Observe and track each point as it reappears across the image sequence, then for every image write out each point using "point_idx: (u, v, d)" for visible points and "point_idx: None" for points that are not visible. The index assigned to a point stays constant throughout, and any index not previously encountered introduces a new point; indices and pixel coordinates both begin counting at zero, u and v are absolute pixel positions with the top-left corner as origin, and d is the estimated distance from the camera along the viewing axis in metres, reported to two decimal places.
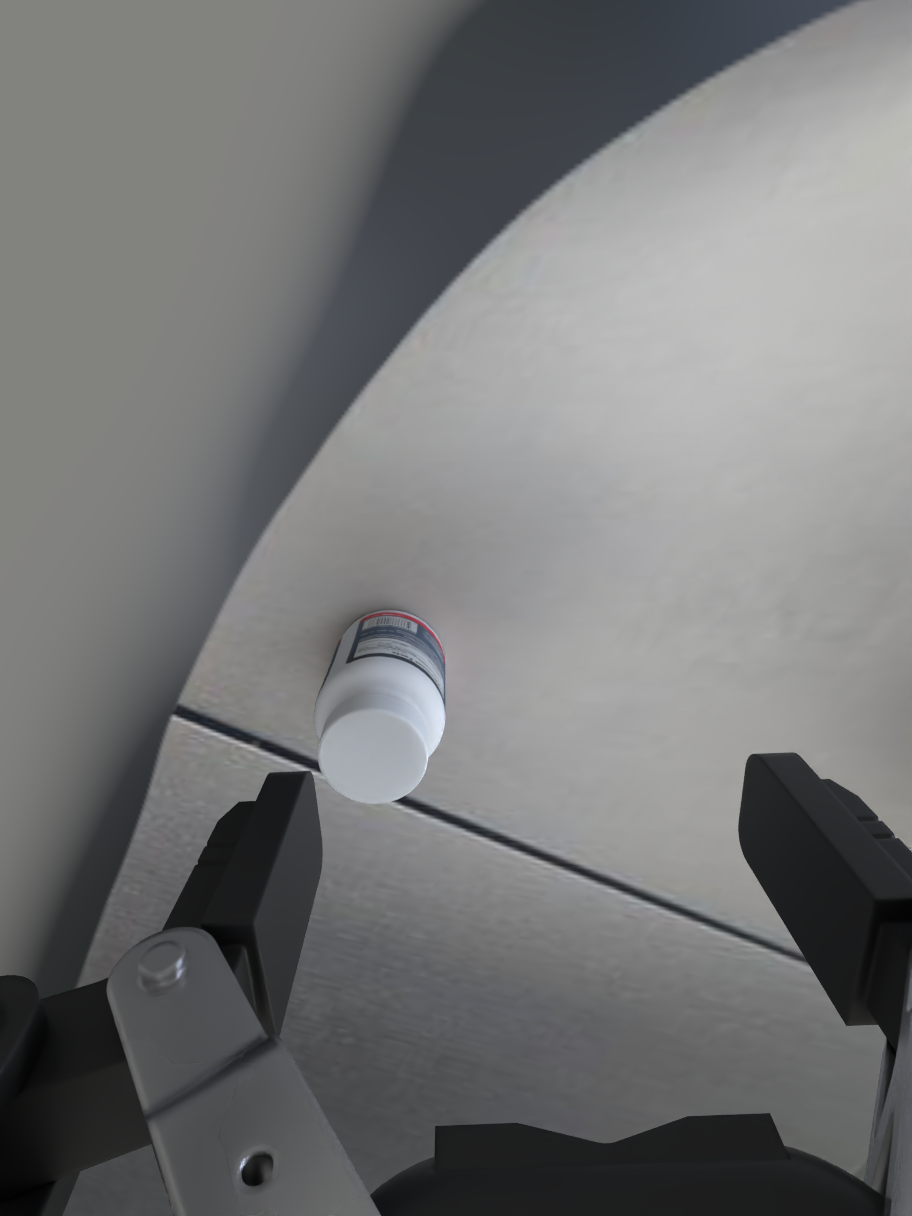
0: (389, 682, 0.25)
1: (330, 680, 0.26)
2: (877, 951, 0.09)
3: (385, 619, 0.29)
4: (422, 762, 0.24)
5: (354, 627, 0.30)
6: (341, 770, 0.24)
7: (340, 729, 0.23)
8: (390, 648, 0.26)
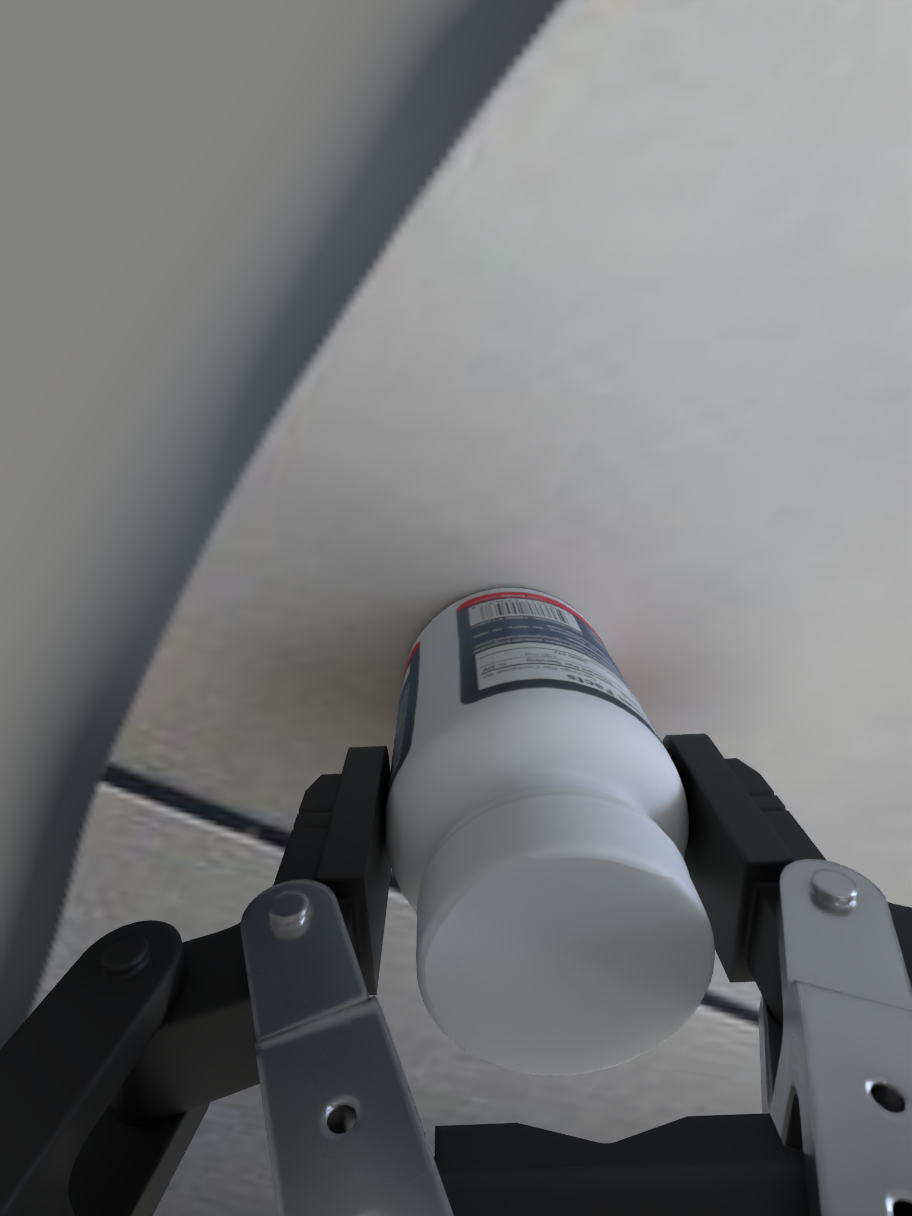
0: (582, 754, 0.10)
1: (429, 745, 0.11)
2: (752, 910, 0.09)
3: (513, 605, 0.15)
4: (701, 982, 0.09)
5: (447, 621, 0.15)
6: (479, 1001, 0.09)
7: (488, 901, 0.08)
8: (559, 667, 0.12)
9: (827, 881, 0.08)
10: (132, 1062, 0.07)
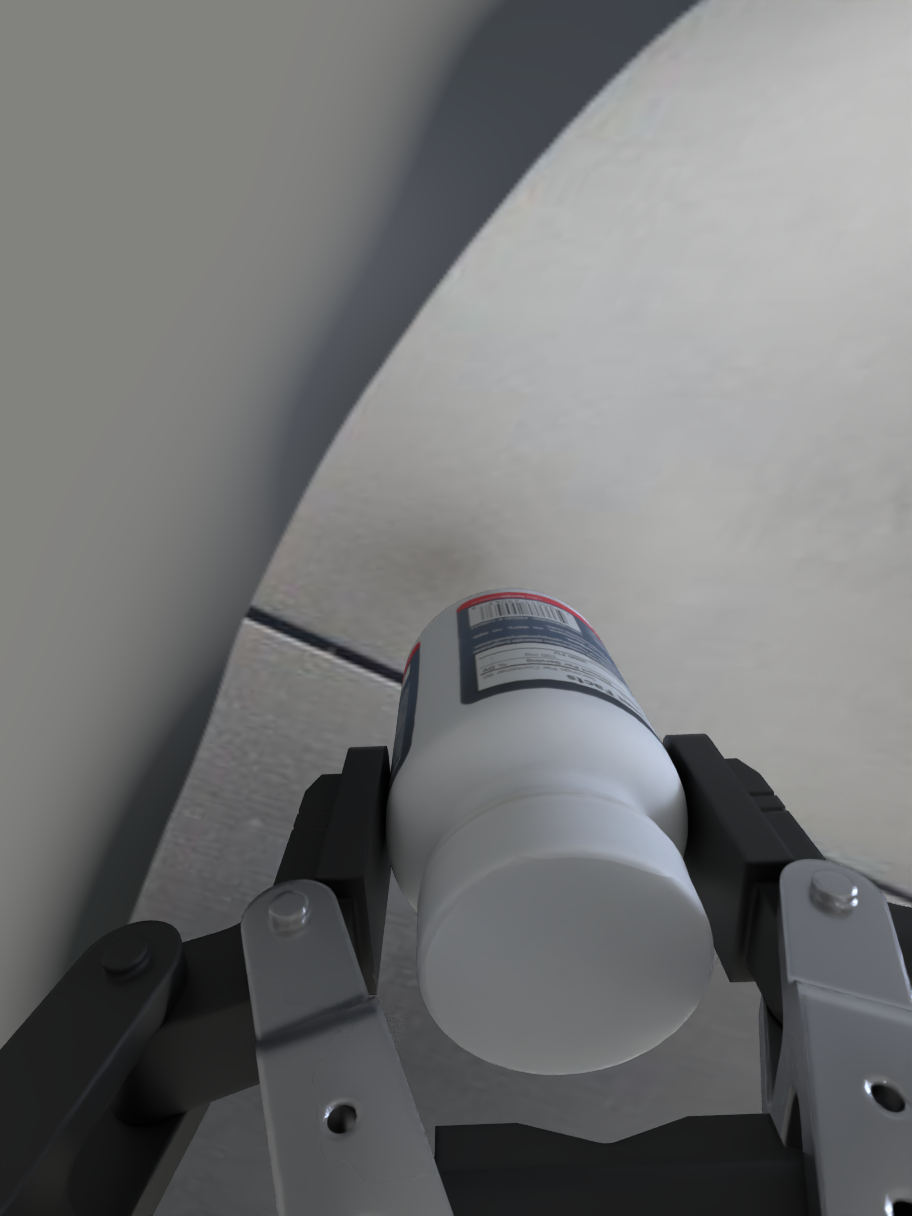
0: (581, 755, 0.10)
1: (429, 746, 0.11)
2: (752, 911, 0.09)
3: (513, 606, 0.15)
4: (700, 982, 0.09)
5: (447, 621, 0.15)
6: (479, 1000, 0.09)
7: (487, 901, 0.08)
8: (558, 667, 0.12)
9: (827, 881, 0.08)
10: (132, 1062, 0.07)
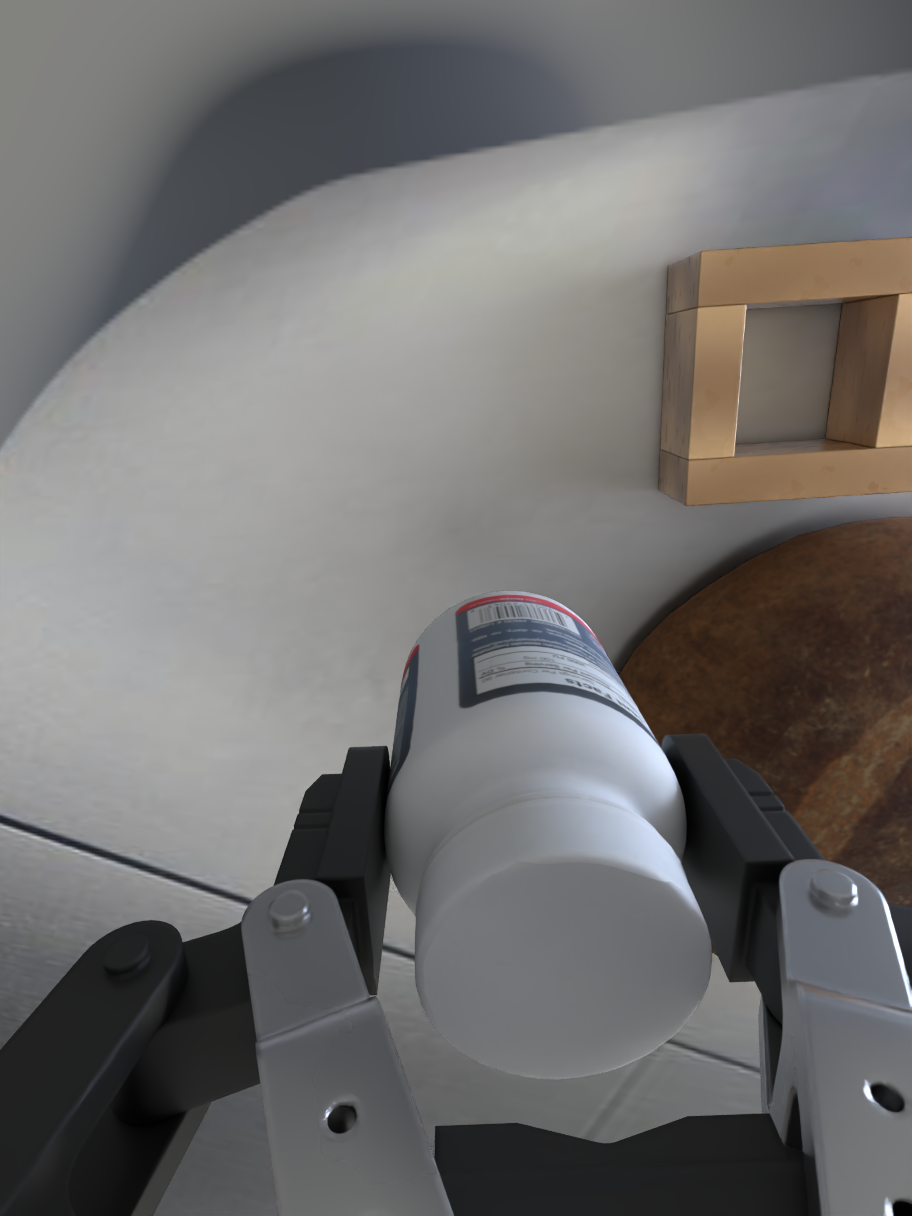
0: (580, 758, 0.10)
1: (427, 749, 0.11)
2: (751, 910, 0.09)
3: (512, 608, 0.15)
4: (698, 986, 0.09)
5: (446, 624, 0.15)
6: (476, 1005, 0.09)
7: (486, 905, 0.08)
8: (557, 671, 0.12)
9: (826, 881, 0.08)
10: (133, 1062, 0.07)
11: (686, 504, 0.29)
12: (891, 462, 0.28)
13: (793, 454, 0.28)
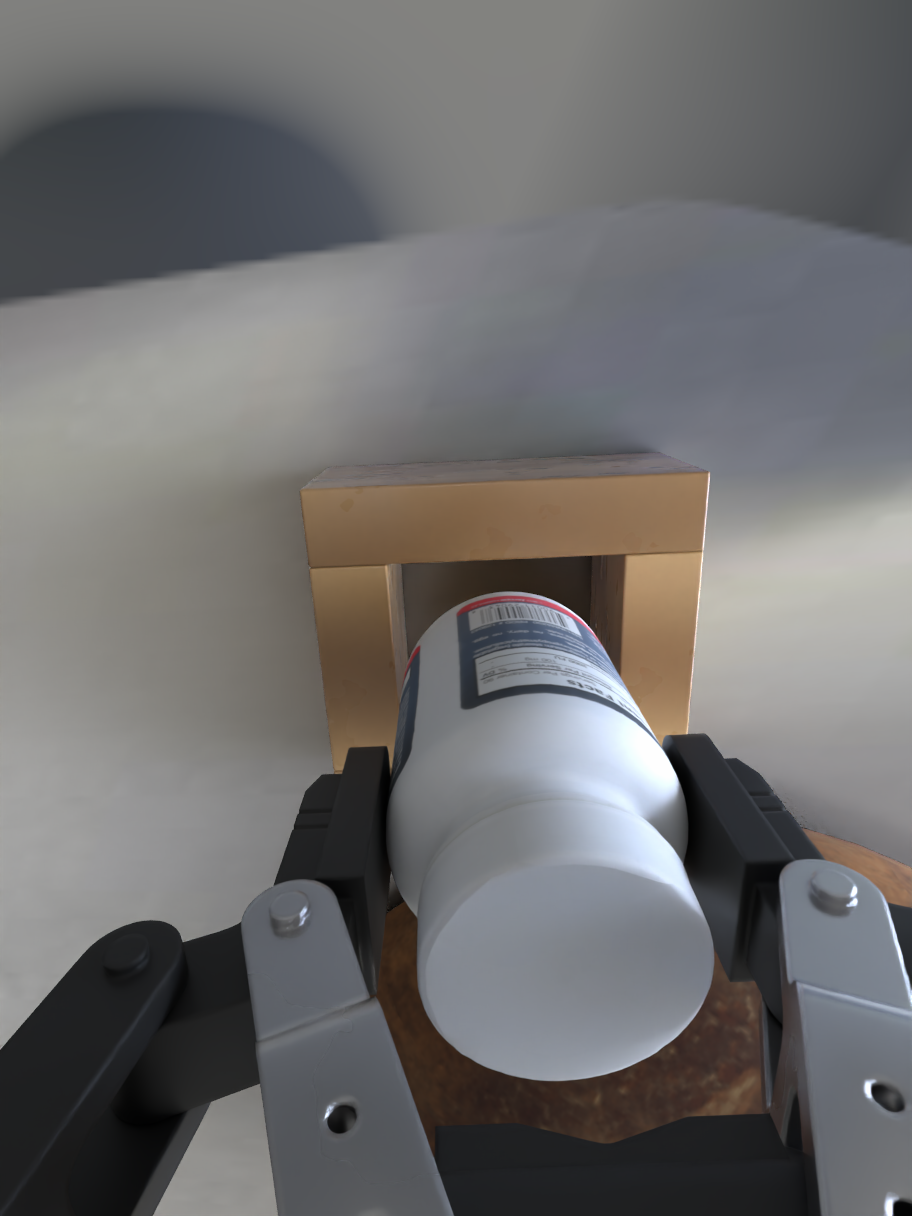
0: (582, 760, 0.10)
1: (429, 751, 0.11)
2: (752, 911, 0.09)
3: (513, 609, 0.15)
4: (700, 988, 0.09)
5: (447, 625, 0.15)
6: (479, 1007, 0.09)
7: (487, 907, 0.08)
8: (558, 672, 0.12)
9: (826, 881, 0.08)
10: (133, 1062, 0.07)
11: None
12: None
13: None
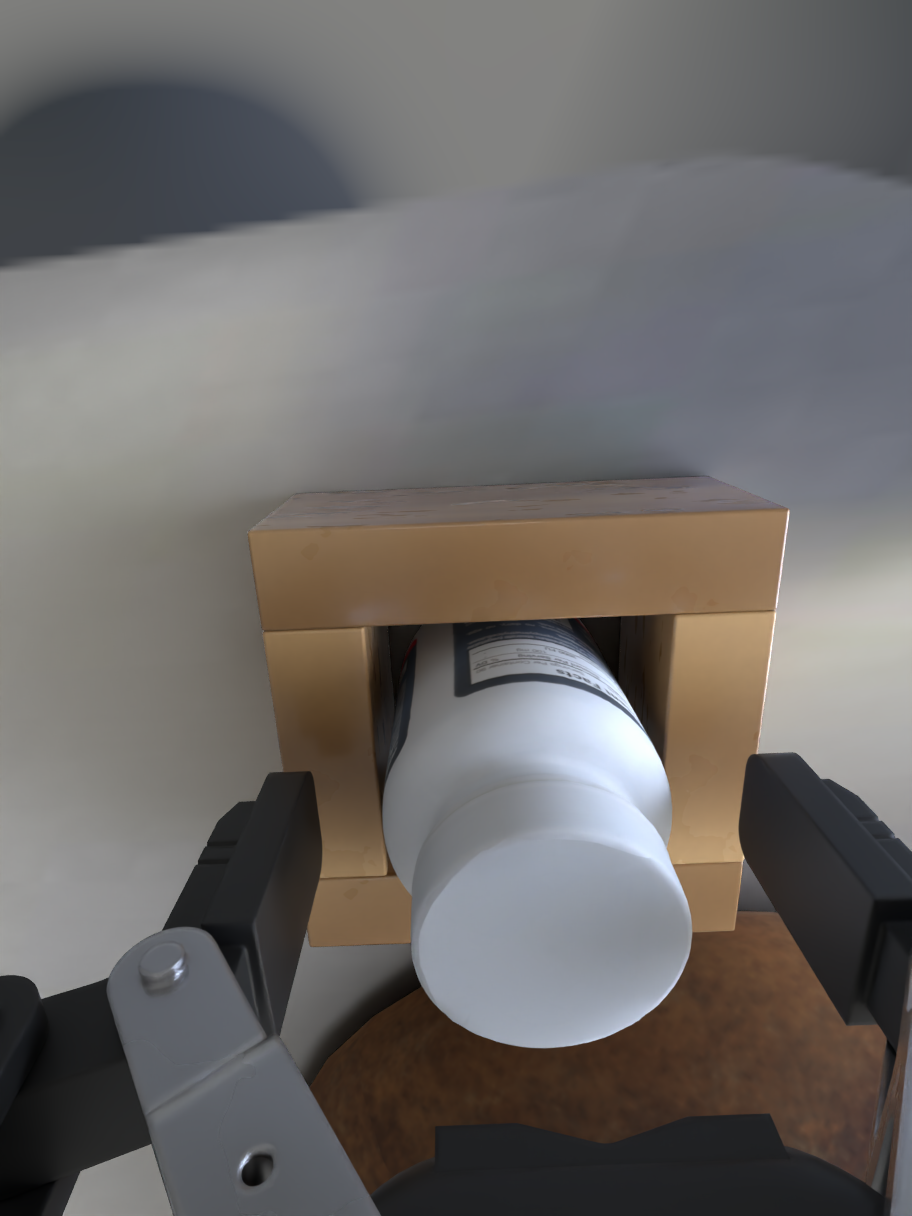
0: (569, 744, 0.11)
1: (423, 736, 0.11)
2: (876, 950, 0.09)
3: None
4: (679, 958, 0.09)
5: None
6: (469, 976, 0.09)
7: (477, 880, 0.09)
8: (548, 662, 0.12)
9: None
10: None
11: (310, 945, 0.15)
12: (688, 888, 0.15)
13: None
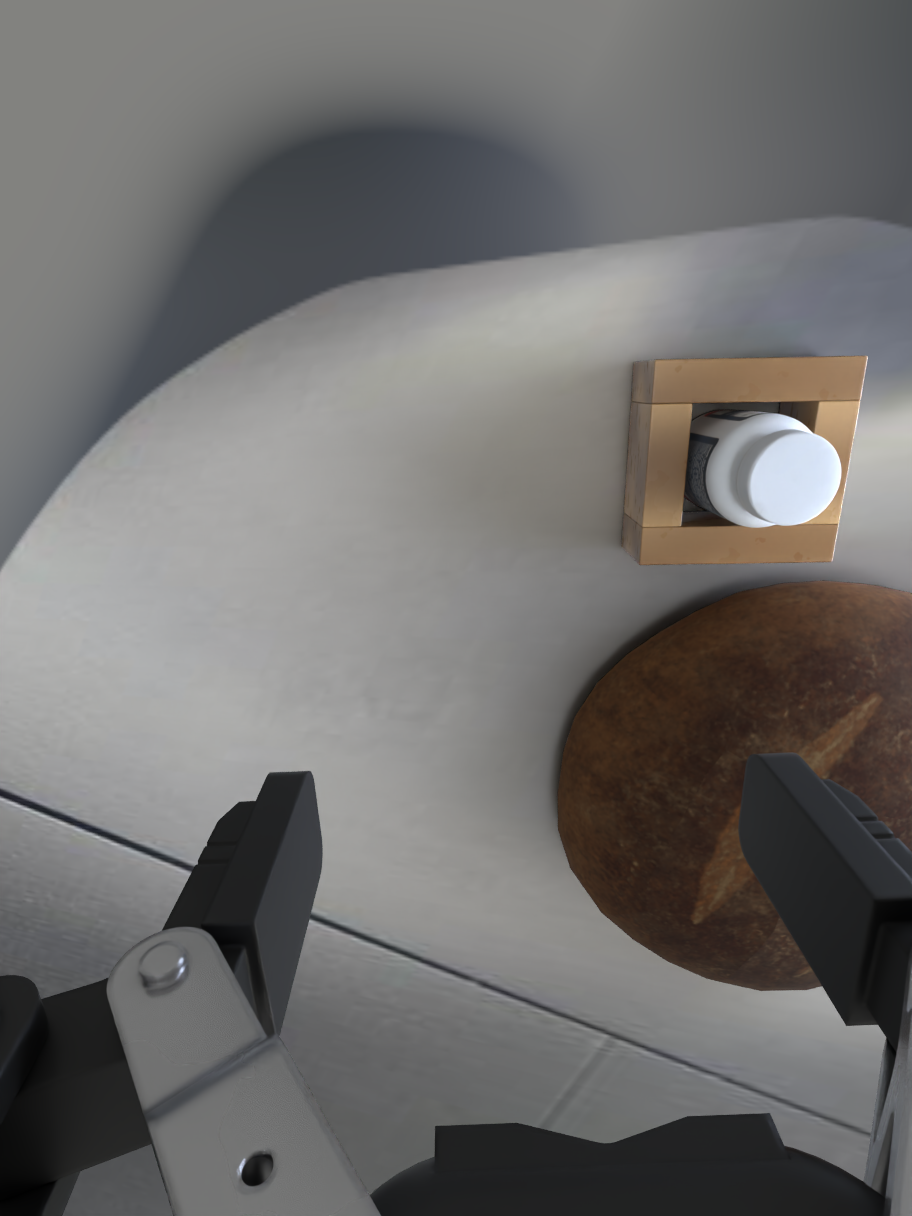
0: (790, 429, 0.29)
1: (732, 431, 0.30)
2: (876, 951, 0.09)
3: None
4: (836, 485, 0.28)
5: (702, 419, 0.34)
6: (766, 490, 0.28)
7: (775, 450, 0.27)
8: None
9: None
10: None
11: (640, 563, 0.34)
12: (813, 537, 0.34)
13: (730, 526, 0.33)
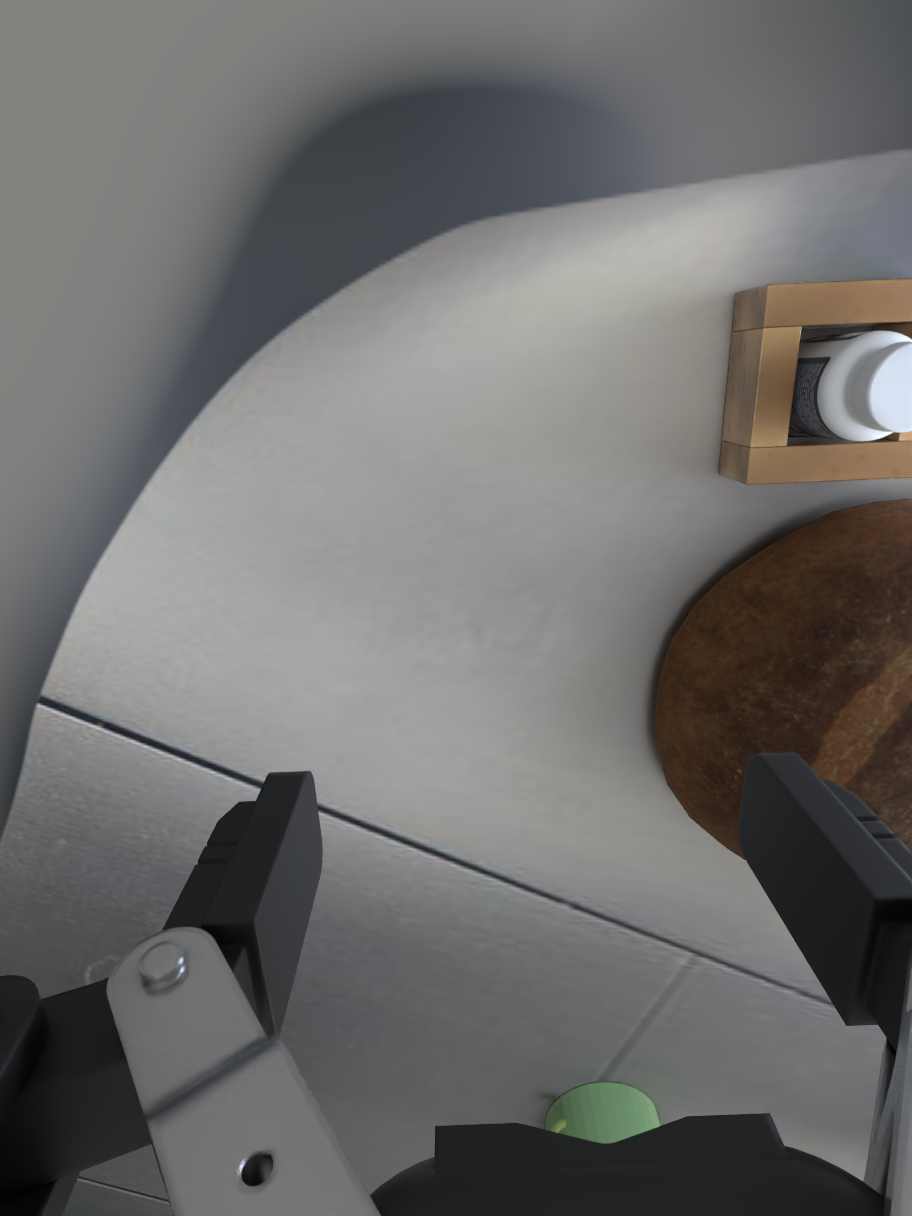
0: None
1: (844, 348, 0.32)
2: (877, 951, 0.09)
3: None
4: None
5: (801, 345, 0.36)
6: (884, 399, 0.30)
7: (894, 359, 0.30)
8: None
9: None
10: None
11: (747, 483, 0.36)
12: (910, 453, 0.36)
13: (833, 445, 0.36)
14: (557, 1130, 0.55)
